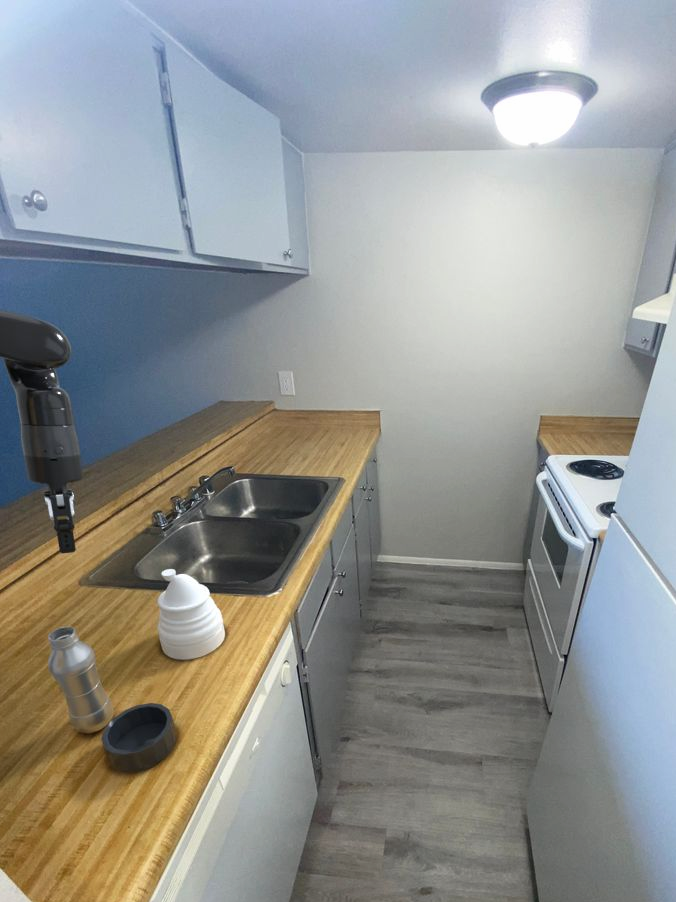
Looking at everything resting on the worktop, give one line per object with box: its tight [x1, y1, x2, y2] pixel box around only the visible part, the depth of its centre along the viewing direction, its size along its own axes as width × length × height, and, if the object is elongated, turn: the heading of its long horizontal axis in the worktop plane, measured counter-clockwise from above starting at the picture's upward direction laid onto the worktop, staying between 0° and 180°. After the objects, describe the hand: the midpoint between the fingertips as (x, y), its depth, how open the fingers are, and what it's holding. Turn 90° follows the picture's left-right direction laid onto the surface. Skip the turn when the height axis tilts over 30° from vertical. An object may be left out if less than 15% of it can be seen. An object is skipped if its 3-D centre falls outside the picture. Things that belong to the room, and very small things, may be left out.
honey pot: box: [157, 568, 226, 661], centre depth 100 cm, size 13×13×18 cm
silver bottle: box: [47, 625, 115, 734], centre depth 79 cm, size 6×7×20 cm
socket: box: [100, 702, 178, 774], centre depth 79 cm, size 10×10×4 cm
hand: (66, 545), depth 83 cm, fingers open, 8 cm apart
